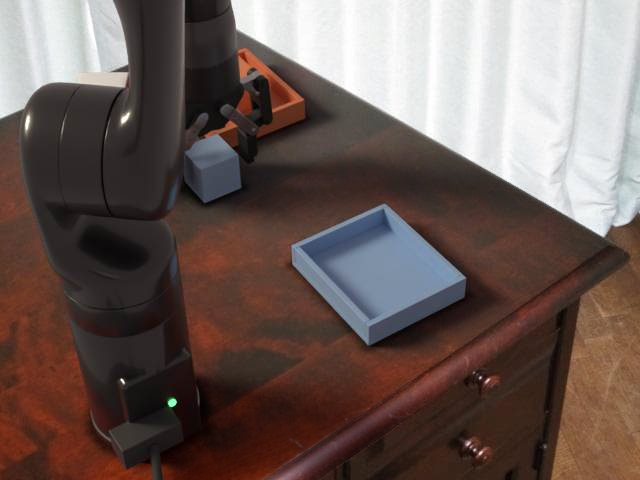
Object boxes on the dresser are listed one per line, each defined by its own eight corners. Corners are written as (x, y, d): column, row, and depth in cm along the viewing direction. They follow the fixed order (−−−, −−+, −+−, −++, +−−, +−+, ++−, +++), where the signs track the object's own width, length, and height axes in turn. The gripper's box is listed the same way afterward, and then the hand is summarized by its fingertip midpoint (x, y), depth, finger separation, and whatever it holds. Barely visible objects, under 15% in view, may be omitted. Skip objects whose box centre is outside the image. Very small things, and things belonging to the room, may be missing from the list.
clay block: (260, 105, 133) (258, 73, 130) (226, 118, 131) (223, 86, 128) (241, 87, 136) (238, 55, 133) (207, 100, 134) (204, 67, 131)
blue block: (241, 188, 123) (238, 154, 120) (204, 203, 121) (200, 170, 118) (220, 166, 125) (217, 133, 122) (184, 181, 124) (180, 148, 121)
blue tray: (464, 297, 110) (466, 277, 108) (368, 346, 105) (368, 326, 104) (384, 222, 118) (384, 203, 116) (292, 264, 114) (291, 245, 112)
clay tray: (305, 118, 132) (304, 99, 130) (220, 152, 127) (218, 133, 126) (247, 65, 140) (245, 47, 138) (165, 96, 136) (162, 77, 134)
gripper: (150, 86, 106) (169, 218, 117) (281, 38, 112) (288, 168, 123) (115, 49, 111) (137, 179, 122) (242, 4, 117) (252, 132, 128)
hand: (212, 173), depth 122 cm, fingers open, 8 cm apart
